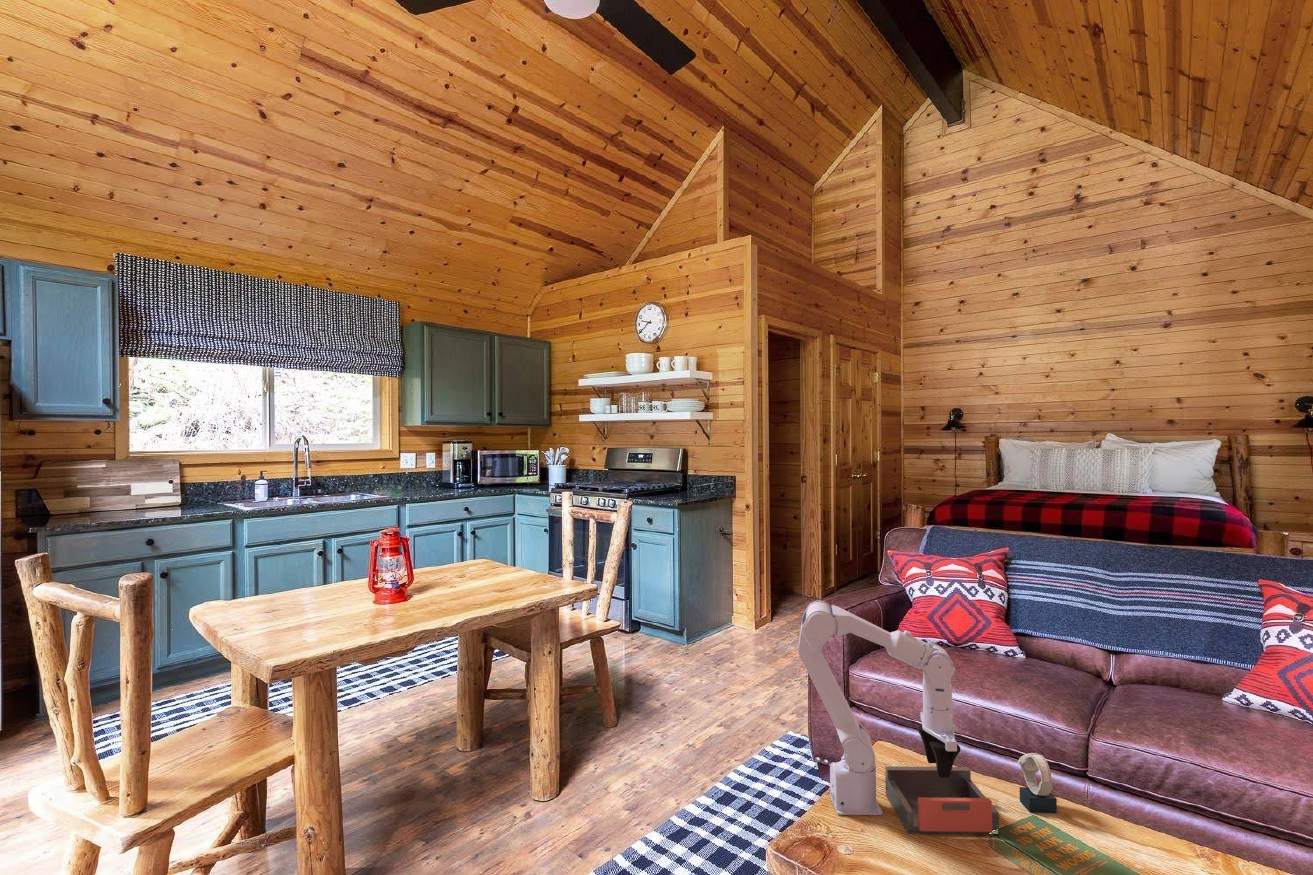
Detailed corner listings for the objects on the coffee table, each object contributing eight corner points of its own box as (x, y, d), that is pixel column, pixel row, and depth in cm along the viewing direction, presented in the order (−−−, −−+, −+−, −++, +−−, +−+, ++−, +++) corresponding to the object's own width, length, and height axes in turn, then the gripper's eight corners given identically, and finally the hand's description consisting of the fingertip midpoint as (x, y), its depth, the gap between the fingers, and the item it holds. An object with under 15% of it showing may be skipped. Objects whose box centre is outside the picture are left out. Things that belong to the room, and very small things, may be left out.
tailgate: (921, 832, 128) (920, 802, 128) (918, 827, 130) (917, 797, 130) (993, 833, 128) (992, 802, 128) (989, 828, 129) (988, 797, 129)
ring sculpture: (1041, 796, 143) (1040, 747, 143) (1061, 818, 135) (1060, 765, 135) (1014, 796, 143) (1014, 746, 143) (1033, 817, 135) (1032, 764, 135)
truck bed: (907, 833, 130) (907, 801, 130) (885, 795, 144) (885, 766, 144) (998, 834, 129) (998, 802, 130) (967, 796, 144) (967, 766, 144)
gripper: (971, 719, 130) (973, 787, 130) (942, 691, 144) (943, 752, 144) (936, 719, 130) (937, 787, 130) (910, 691, 144) (911, 752, 144)
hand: (938, 769), depth 137 cm, fingers open, 5 cm apart
